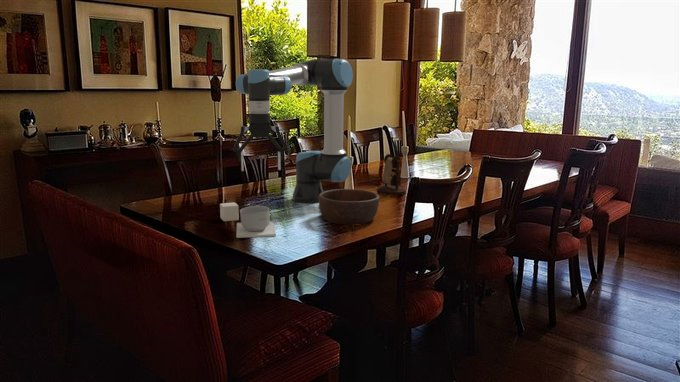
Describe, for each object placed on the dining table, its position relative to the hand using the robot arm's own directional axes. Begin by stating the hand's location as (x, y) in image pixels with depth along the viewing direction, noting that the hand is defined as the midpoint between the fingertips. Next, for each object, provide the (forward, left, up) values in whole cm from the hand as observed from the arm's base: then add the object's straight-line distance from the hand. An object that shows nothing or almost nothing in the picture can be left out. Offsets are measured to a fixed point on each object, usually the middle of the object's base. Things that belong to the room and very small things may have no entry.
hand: (261, 169), depth 193 cm
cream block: (+12, -15, -23) cm, 30 cm away
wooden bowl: (-36, -9, -23) cm, 43 cm away
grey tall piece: (-67, -53, -23) cm, 88 cm away
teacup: (+2, +3, -22) cm, 22 cm away
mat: (+2, +3, -22) cm, 23 cm away
